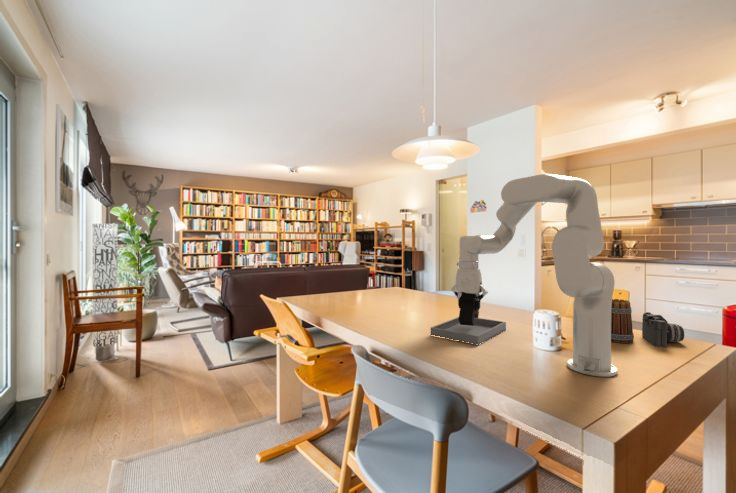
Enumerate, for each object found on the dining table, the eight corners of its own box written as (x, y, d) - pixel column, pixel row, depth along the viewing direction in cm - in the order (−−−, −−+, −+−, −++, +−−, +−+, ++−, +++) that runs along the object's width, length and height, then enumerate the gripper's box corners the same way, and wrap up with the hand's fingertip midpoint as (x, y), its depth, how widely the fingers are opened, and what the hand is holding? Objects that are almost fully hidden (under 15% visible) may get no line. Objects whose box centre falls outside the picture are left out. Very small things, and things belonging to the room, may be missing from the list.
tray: (478, 345, 125) (478, 336, 125) (430, 336, 138) (430, 327, 138) (506, 330, 146) (505, 322, 146) (462, 323, 159) (462, 315, 159)
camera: (692, 349, 118) (693, 321, 118) (654, 346, 122) (654, 318, 122) (672, 338, 132) (672, 312, 131) (638, 336, 135) (638, 310, 135)
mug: (622, 336, 135) (622, 298, 135) (640, 344, 125) (640, 303, 124) (580, 335, 137) (580, 298, 137) (595, 343, 126) (595, 302, 126)
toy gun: (477, 338, 144) (479, 310, 151) (472, 320, 131) (474, 291, 138) (465, 336, 147) (467, 310, 153) (458, 319, 133) (461, 290, 140)
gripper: (445, 265, 144) (445, 307, 145) (485, 267, 133) (485, 313, 133) (454, 264, 150) (454, 305, 150) (493, 266, 138) (493, 310, 139)
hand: (469, 308), depth 142 cm, fingers closed on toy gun, 6 cm apart
